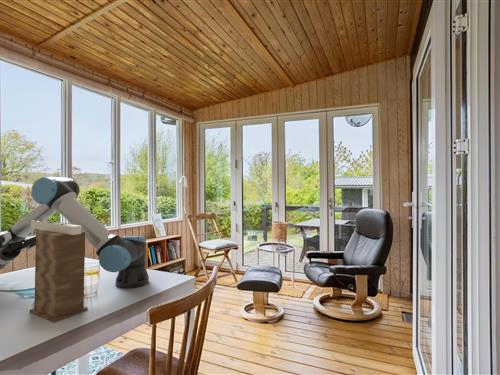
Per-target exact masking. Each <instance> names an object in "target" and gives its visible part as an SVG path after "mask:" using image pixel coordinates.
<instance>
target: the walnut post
mask: <svg viewBox="0 0 500 375" xmlns="http://www.w3.org/2000/svg"><path fill="white" fill-rule="evenodd" d="M35 236H36V245H35V258H34V260H35V263H34V264H35V268H34V269H35V271H34V302H33V303H34V305H33V306H34V308H31V309H30V308H29V313H30V314H33V315H35V316H38V317H40V318H42V319H45V320H48V321H49V322H53V323H57V322H60V321H63V320H65V319H69V318H70V317H73V316H75V315H78V314H81V313H84V312H86V311H88V310H89V308H88V306H85V304H84V303H85V300H84V299H85V298H84V297H85V264H86V263H85V260H86V259H85V258H86V257H85V255H86V254H85V253H86V238H85V232H83V231H81V234H76V235H70V234H64V233H58V232H52V231H43V230H40V231H39V230H38V231H36V232H35Z"/></svg>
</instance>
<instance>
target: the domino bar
mask: <svg viewBox="0 0 500 375" xmlns="http://www.w3.org/2000/svg"><path fill="white" fill-rule="evenodd" d="M31 228H34V230H40V231H43V230H46V231H52V232H58V233H64V234H70V235H76V234H81V226H80V225H73V224H71V223H68V222H66V223H64V222H57V221H51V220H50V221H49V220H45V221H44V220H31Z"/></svg>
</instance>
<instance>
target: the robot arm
mask: <svg viewBox="0 0 500 375" xmlns="http://www.w3.org/2000/svg"><path fill="white" fill-rule="evenodd" d="M80 191H81V190H80V186H79V184H78V183H77V181H75V180H74V179H72V178H69V177H59V176H57V177H56V176H43V177H39V178H38V179H36V180H35V181H34V182H33V184H32V186H31V192H30V194H31V198H32V199H33V200H34V202H36V203H38V205H37V206H36V207H35V208H34V209H32V210H31V211H29V212H28V213H26V215H24V216H23V217H22V218H21V219H19V220H18V221H17V222H16V223H14V224H13V225H12V226H11V227H10V228H8V229H6V230H3V231H0V271H1V270H4V269H5V268H6V266H8V265H9V264H10V263H11V262H13V261H14V260H15V259H16V258H17V257H18V256H19V255H20V254H21V251H22V250H24V249H28V250H30V249H31V248H33V247H36V235H35V236H33V237H30V238H28V239H27V236H28V235H29V234H30V233H32V232H34V230H35V229H34V228H31V220H44V221H48V219H49V218H51V217H52V216H53V215H55V214H56V213H57V212H59V213H60V215H61V216H63V217H64V218H65V219H66V221H68V222H69V224H73V225H80V226H81V231H83V232H85V240H87V241H88V242H89V243H90V244H91V245H92V246H93V247H94V248H95V249H96V250H95V254H96V255H97V257H98V260H99V261H98V264H99V265H100V267H101V268H102V269H104V270H105V271H106V272H109V273H117V275H116V278H115V286H116V287H117V288H122V289H133V287H134V288H139V286H140V287H143V286H145V284H146V285H147V284H148V283H149V281H150V277H149V276H150V275H149V273H148V271H147V270H148V269H147V267H146V266H147V265H146V257H147V239H146V237H145V236H143V235H141V236H140V235H123V236H119V234H112V233H111V231H109V230H108V229H107V228H106V226H104V225H103V224H102V223H101V222H100V221H99V220H98V219H97V218H96V217H95V216H94V215H93V214H92V213H91V211H89V210H88V209H87V208H86V207H85V205H83V204H82V203H81V202H80V201H79V200H78V199H77V198H78V197H79V195H80ZM42 231H46V230H42ZM142 285H143V286H142Z"/></svg>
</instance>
